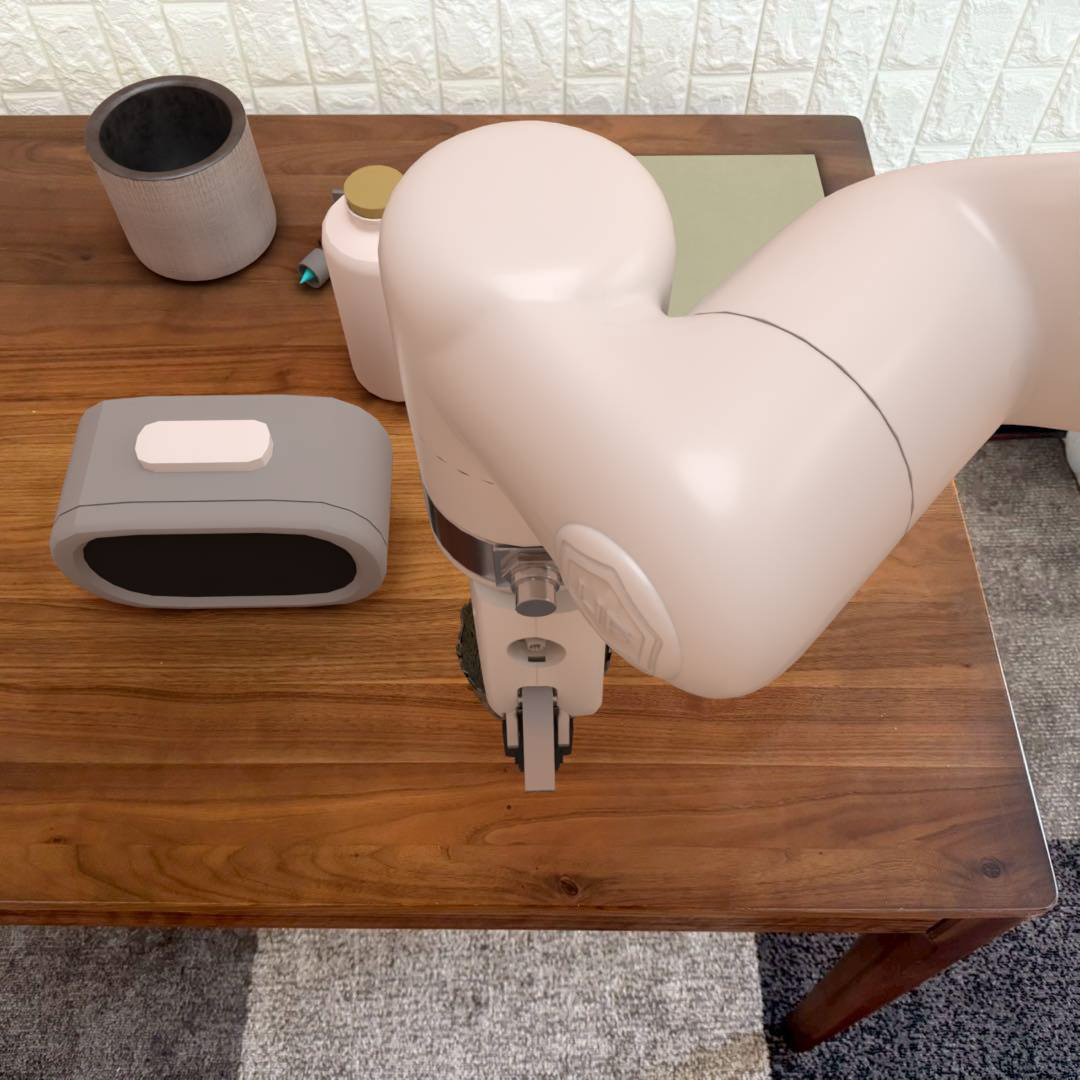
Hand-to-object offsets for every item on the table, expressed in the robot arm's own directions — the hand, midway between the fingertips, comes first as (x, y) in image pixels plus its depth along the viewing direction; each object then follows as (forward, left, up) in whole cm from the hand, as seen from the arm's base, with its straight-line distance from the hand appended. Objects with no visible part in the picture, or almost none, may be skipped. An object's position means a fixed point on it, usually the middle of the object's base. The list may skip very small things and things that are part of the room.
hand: (535, 671), depth 49 cm
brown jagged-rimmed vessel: (0, 0, -4) cm, 4 cm away
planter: (+47, +28, -15) cm, 57 cm away
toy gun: (+43, +13, -15) cm, 48 cm away
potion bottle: (+32, +10, -15) cm, 37 cm away
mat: (+38, -15, -15) cm, 44 cm away
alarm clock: (+15, +20, -15) cm, 29 cm away
